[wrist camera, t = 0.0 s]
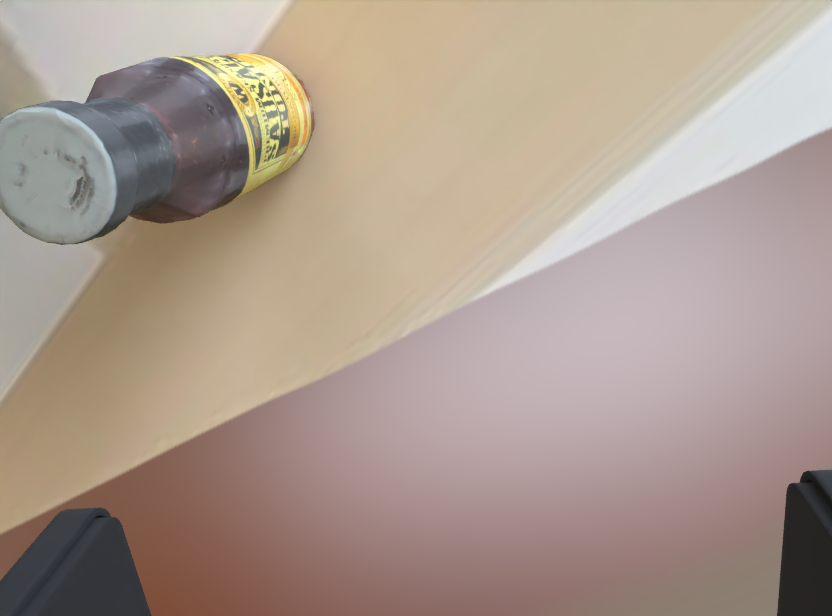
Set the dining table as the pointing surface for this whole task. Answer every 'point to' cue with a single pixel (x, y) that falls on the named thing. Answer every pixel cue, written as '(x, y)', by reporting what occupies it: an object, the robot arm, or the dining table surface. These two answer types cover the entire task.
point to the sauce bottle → (152, 145)
